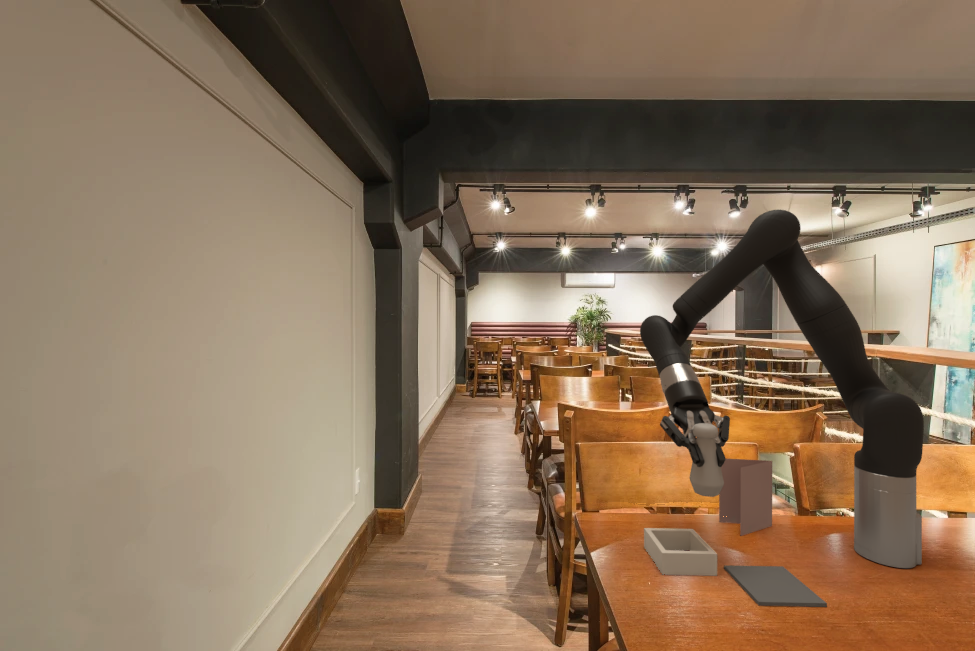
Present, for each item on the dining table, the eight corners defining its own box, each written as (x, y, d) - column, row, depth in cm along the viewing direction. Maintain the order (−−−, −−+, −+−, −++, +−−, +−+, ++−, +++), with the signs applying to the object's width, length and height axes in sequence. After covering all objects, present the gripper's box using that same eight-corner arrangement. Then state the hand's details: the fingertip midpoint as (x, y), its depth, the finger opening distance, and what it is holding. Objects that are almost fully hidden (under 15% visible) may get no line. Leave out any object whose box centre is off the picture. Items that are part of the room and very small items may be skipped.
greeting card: (770, 524, 102) (770, 459, 102) (787, 539, 94) (787, 469, 94) (717, 520, 103) (718, 457, 103) (730, 535, 96) (730, 467, 96)
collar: (692, 548, 90) (692, 528, 90) (717, 575, 80) (717, 553, 80) (643, 547, 90) (644, 528, 90) (662, 574, 80) (662, 552, 80)
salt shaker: (716, 487, 86) (715, 421, 86) (729, 499, 80) (728, 427, 80) (685, 486, 86) (684, 421, 86) (696, 498, 80) (694, 427, 81)
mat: (782, 569, 82) (782, 566, 82) (826, 606, 71) (826, 603, 71) (723, 568, 83) (723, 565, 83) (758, 605, 72) (758, 601, 72)
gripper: (653, 379, 91) (678, 455, 78) (721, 378, 90) (757, 454, 78) (645, 400, 96) (667, 474, 84) (709, 399, 96) (741, 474, 83)
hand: (710, 464), depth 81 cm, fingers closed on salt shaker, 3 cm apart
